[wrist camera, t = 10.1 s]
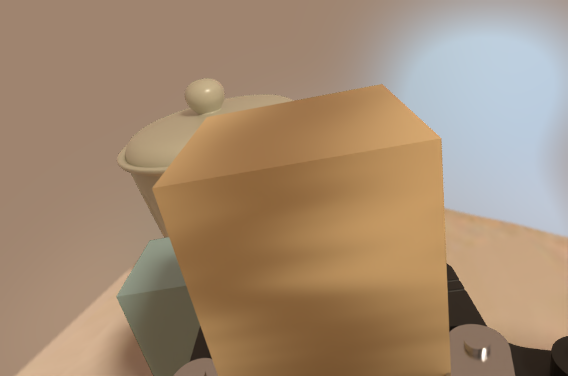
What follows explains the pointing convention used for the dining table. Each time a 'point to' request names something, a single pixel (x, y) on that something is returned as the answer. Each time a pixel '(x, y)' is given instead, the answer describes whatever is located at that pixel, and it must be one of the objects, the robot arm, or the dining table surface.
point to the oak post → (314, 238)
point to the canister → (179, 135)
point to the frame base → (160, 309)
